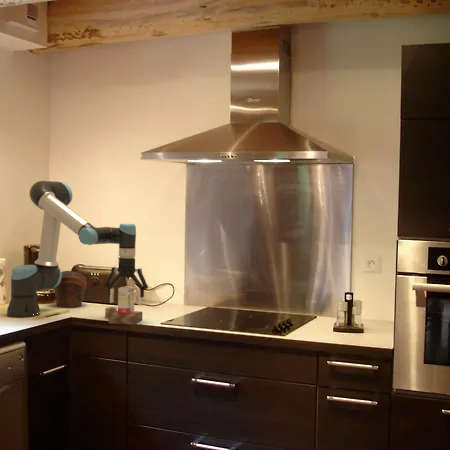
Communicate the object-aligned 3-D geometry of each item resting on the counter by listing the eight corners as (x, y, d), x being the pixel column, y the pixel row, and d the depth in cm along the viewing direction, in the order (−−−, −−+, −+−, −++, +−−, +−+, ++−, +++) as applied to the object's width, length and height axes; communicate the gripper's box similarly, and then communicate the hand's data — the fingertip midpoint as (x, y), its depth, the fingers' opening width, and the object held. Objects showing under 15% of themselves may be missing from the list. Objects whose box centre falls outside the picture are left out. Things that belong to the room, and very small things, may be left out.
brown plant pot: (69, 309, 317) (70, 274, 316) (43, 306, 327) (43, 271, 327) (95, 306, 331) (96, 272, 331) (68, 302, 342) (69, 270, 342)
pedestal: (108, 323, 284) (108, 314, 284) (117, 318, 295) (118, 310, 295) (134, 324, 281) (134, 315, 281) (142, 320, 293) (142, 311, 293)
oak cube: (105, 318, 295) (105, 308, 295) (106, 317, 300) (106, 306, 300) (115, 318, 295) (116, 308, 295) (116, 317, 300) (117, 306, 300)
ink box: (127, 314, 284) (127, 288, 283) (117, 314, 285) (117, 288, 285) (134, 311, 292) (135, 286, 292) (124, 311, 293) (125, 285, 293)
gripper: (98, 256, 286) (97, 303, 287) (150, 259, 282) (149, 306, 282) (104, 255, 294) (103, 300, 294) (155, 258, 289) (154, 303, 290)
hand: (125, 303), depth 288 cm, fingers open, 13 cm apart
